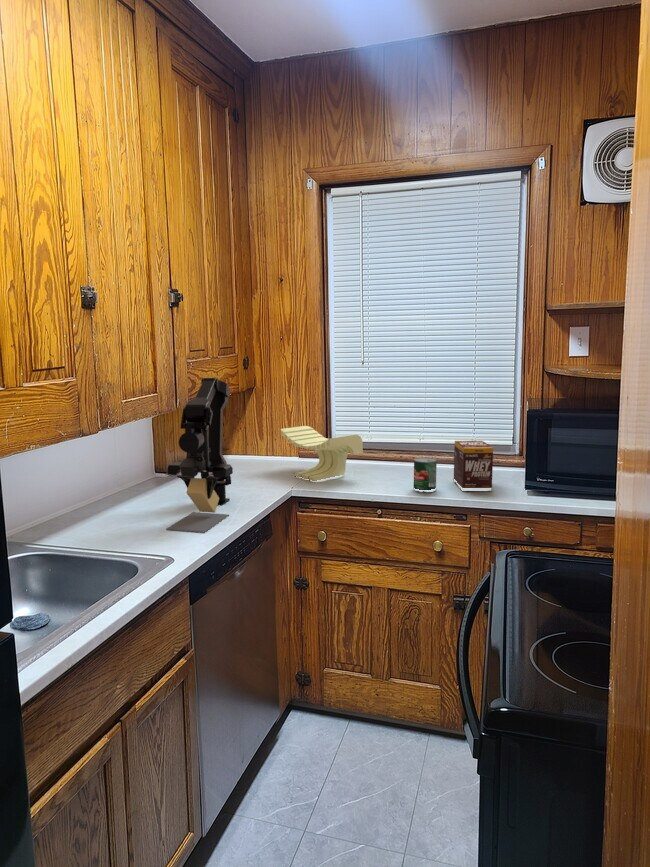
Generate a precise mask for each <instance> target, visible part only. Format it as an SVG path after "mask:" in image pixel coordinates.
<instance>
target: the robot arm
mask: <svg viewBox="0 0 650 867" xmlns="http://www.w3.org/2000/svg"><path fill="white" fill-rule="evenodd" d="M230 390H231V388H230V386H229V384H228V383H227V382H224V381H222V380H220V379H219V378H217V377H204V378H201V384H200V386H199V389H198V391H197V392H196V395H195V397H194V399H191V400H189V401H187V403H186V404H185V406H184V407H183V409H182V414H181V421H180V429H181V430H182V429H183V430H184V433H182V434H181V435H180V436H179V439H178V446H179V448H180V450H181V451H183V452H185V453H186V456H185V458H184V459H183V460H182V461H174V462H173V463H169V464H168V465H167V467H166V475H169V476H176V477H177V478H179V479H181V480H182V481H183V483H184V484H185V486H186V490H187V489H188V486H189V483H190V480H191V478H196V476H198V474H199V473H200V478H204V479H206V480H207V496H208V499H210V498H211V495H212V492H213V490H214V491H215V492H216V494H217V495H218V497H219V501H218V504H217V506H218V505H219V506H222V505H225V504H226V503H227V502H230V498H229V497H227V494H226V493H227V491H226V486H229V485H231V484H232V477H231V475H232V474H233V472H234V471H233V466H232V464H229V463H228V462H227V461H226V459H225V457H224V454H223V429H224V427H223V426H224V425H223V422H224V421H223V420H224V418H223V415H224V414H223V413H224V409H225V408H226V406H227V405H228V403H229V398H230V396H231V391H230ZM227 463H228V464H227Z"/></svg>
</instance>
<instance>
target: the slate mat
mask: <svg viewBox="0 0 650 867" xmlns="http://www.w3.org/2000/svg"><path fill="white" fill-rule="evenodd" d="M227 516H228V517H230V514H226V513H212V512H200V511H198V512H196V511H193V512H191V513H189V514H188V515H186V516H185V517H183V518H181V519H180V520H178V521H176V522H175V523H172V524H171V525H169V526H168V527H166V528H165V530H166V531H173V532H175V531H176V532H177V531H178V532H184V533H185V532H190V533H197V534H200V533H203V534H206V533H207V532H209V531H210V530H211V529H212V527H213V528H214V527H215V525H216V524H217V525H219V524H220V523H221V522H222V520H223V519H224V520H225V519H227V518H228V517H227ZM226 517H227V518H226ZM224 520H223V521H224ZM219 522H220V523H219ZM217 525H216V526H217ZM208 530H209V531H208ZM199 532H200V533H199ZM205 532H206V533H205Z"/></svg>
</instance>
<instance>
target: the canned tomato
mask: <svg viewBox="0 0 650 867" xmlns="http://www.w3.org/2000/svg"><path fill="white" fill-rule="evenodd" d="M437 461H438V460H437V458H434V457H426V456H425V457H423V456H421V457H416V458H414V459H413V489H414V488H415V489H419V490H431V489H435V488H436V489H437V463H438V462H437Z"/></svg>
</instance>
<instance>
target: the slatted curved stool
mask: <svg viewBox="0 0 650 867" xmlns="http://www.w3.org/2000/svg"><path fill="white" fill-rule="evenodd" d="M280 437H283V438H284V440H286V441H288V443H290V444H293V446H294V447H296V448H302V449H306V450H309V451H314V452H315V451H316V453H317V456H318V458H319V459H318V460H319V461H318V463H317V465H315V466H314V467H312V468H310V469H306V470H302V471H298V472H295V474H294V477H295V476H297V477H302V478H304V479H309V480H312V481H317V480H321V479H326V478H330V477H335V476H340V475H344V476H345V473H346V465H347V458H348V455H349V453H350V454H352V455H353V456H356V455H362V454H363V453H364V451H363V444H364V442H363V439H362V437H361V436H360V435H358V434H351V435H344V436H339V437H333V438H332V437H331V438H326V437H324V435H322V434H320V433H319V432H318V431H317V430H315V428H313V427H311V426H309V425H302V426H293V427H286V428H280ZM302 478H301V479H302Z"/></svg>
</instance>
